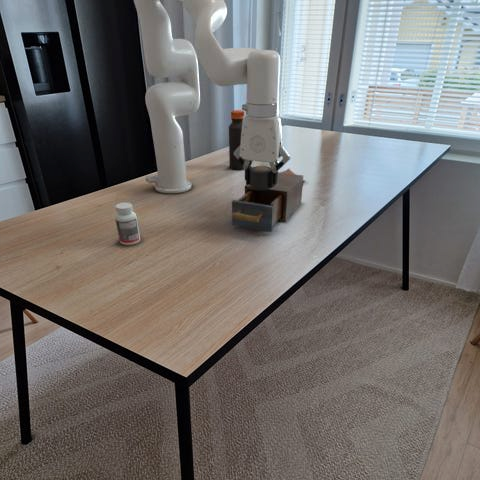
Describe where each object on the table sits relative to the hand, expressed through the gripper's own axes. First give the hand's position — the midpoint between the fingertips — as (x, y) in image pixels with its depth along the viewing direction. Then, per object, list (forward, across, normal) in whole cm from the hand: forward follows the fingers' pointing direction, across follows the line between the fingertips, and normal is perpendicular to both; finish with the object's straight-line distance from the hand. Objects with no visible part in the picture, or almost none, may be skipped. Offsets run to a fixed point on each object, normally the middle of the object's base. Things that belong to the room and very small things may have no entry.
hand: (260, 184), depth 110 cm
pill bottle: (+11, -28, -24) cm, 38 cm away
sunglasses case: (+11, -4, +33) cm, 35 cm away
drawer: (+10, 0, -1) cm, 10 cm away
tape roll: (+1, 0, 0) cm, 1 cm away
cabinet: (+11, 0, +12) cm, 17 cm away
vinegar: (+11, -28, +48) cm, 56 cm away
